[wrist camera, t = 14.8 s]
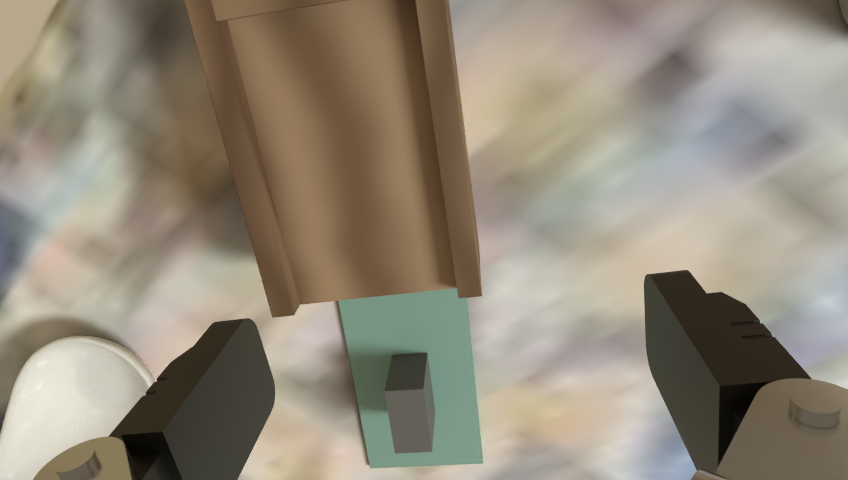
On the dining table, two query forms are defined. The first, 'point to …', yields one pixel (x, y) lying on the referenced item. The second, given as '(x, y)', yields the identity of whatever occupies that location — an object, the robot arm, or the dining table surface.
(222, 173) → the dining table surface
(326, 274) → the lid box
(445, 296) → the cover plate
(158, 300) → the dining table surface
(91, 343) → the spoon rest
